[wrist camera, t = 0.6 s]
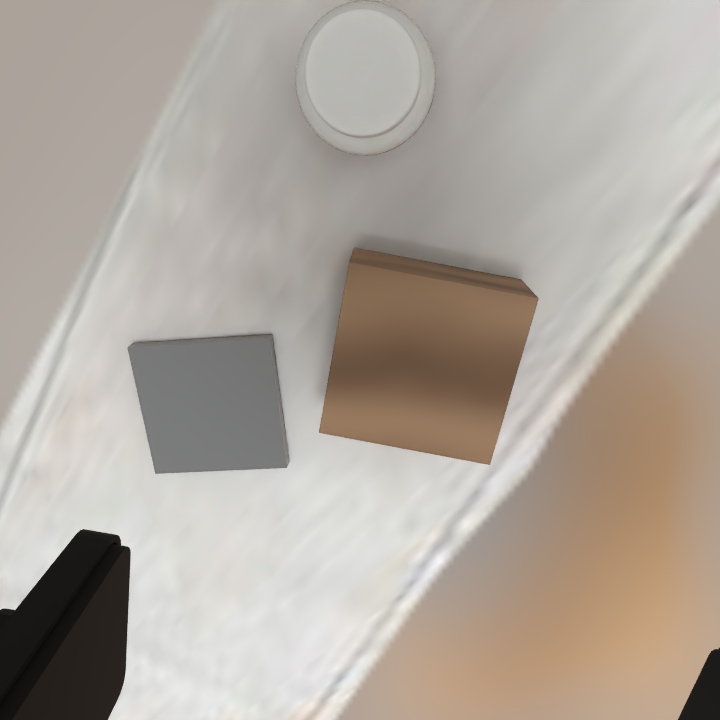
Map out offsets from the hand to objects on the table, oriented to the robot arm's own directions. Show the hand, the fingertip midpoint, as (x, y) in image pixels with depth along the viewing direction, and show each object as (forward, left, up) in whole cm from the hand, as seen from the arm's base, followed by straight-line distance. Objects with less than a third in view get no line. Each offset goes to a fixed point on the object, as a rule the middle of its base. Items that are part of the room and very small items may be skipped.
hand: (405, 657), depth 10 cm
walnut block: (+3, +2, -25) cm, 25 cm away
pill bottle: (-9, -3, -25) cm, 27 cm away
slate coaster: (+9, -9, -25) cm, 28 cm away
